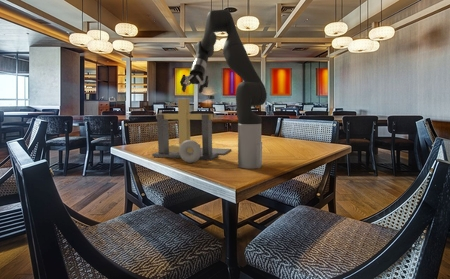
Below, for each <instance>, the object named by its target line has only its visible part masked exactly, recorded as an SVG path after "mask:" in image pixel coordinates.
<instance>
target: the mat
mask: <svg viewBox="0 0 450 279" xmlns="http://www.w3.org/2000/svg"><path fill="white" fill-rule="evenodd" d="M231 151H232V149H231V148H218V147H217V148H216V147H215V148H214V147H212V153H218V156H224V155H226V154H229V152H231ZM201 152H202V147H201Z"/></svg>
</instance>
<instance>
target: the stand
mask: <svg viewBox="0 0 450 279" xmlns="http://www.w3.org/2000/svg"><path fill="white" fill-rule="evenodd" d="M156 114H157V119H156V120H157V122H156V124H157V146H158V151H157V152H154V153H152V154H151V157H152V156H154V157H153V158H162V157H169V158H168V159H179V158H181V156H180V153H179V152H170V151H169V146H170V140H169V139H170V137H169V135H170V134H169V119H164V118H163V114H164V113H156ZM201 114H202V120H201V137H202V139H201V140H202V141H201V142H202V143H201V145H202V147H201V148H202V152H201V156H200V158H199V159H198V160H201V161H212V160H215V159H216V158H217V157H218V156H219V155H218V153H212V148H213V119H212V120H209V114H210V113H201ZM187 153H188V154H189V155H193V153H194V152H193V153H190V152H187ZM181 160H183V159H182V158H181ZM198 160H197V161H198Z"/></svg>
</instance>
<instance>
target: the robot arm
mask: <svg viewBox="0 0 450 279" xmlns="http://www.w3.org/2000/svg"><path fill="white" fill-rule="evenodd" d="M223 32H225V33H226V34H227V37H226V39H225V43H224V45H223V50H222V52H223V57H224V59H225V62H226V64H227V65H228V67H229V69H231V70H232V72H234V73H235V74H236V75H237V76H238V77H240V79H242V80H243V81H242V82H239V83H238V85H237V86H236V90H235V105H236V106H235V107H236V118H237V167H238V168H241V169H246V170H247V169H249V170H250V169H261V167H262V165H263V141H262V122H263V121H262V117H261V115H259V114H256V113H255V112H254V111H253V109H252V107H260V106H262V105H264V104H265V103H266V101H267V95H268V94H267V90H266V87H265V84H264V82H263V81H262V79H261V78H260V77H259V75H258V73H257V71H256V70H255V68H254V66H253V64H252V62H251V59H250V57H249V55H248V53H247V50H246V48H245V46H244V44H243V42H242V40H241V38H240V35H239V33H238V31H237V28H236V25H235V21H234V18H233V16H232V13H231V12H230V11H229V10H228V9H212V10H210V11H209V12H208V13H207V15H206V21H205V26H204V32H203V33H204V34H203V37H202V38H201V40H200V41H198V42H196V44H195V57H194V61H193V63H192V65H191V68H190V71H189V74H188V75H186V74H183V75H182V77H181V79H180V82H179V83H180V86H181V91H182V92H183V93H185V92H186V89H187V87H188V86H191V85H199V87H198V93H199V94H201V93H202V92H203V91H204V88H208V87H209V82H210V78H209V75H205V73H206V71H207V65H208V61H209V58H211V57H213V55H214V52H215V45H216V43H217V40H218V38H217V34H216V33H223ZM203 81H204V82H203Z"/></svg>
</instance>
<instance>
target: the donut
mask: <svg viewBox="0 0 450 279" xmlns="http://www.w3.org/2000/svg"><path fill="white" fill-rule="evenodd" d="M199 144H200V143H198V142H197V141H196V140H194V139H190V140H186V141H184V142H183V143H182V144H181V145H180V148H179V153H180V156H181V158H182V159H181V160H183V161H184V162H186V163H188V164H192V163H193V164H194V163H195V162H197V161H198V159H199V158H200V156H201V148H202V147H200V146H201V144H200V145H199ZM188 148H192V149H193V151H194V153H193V155H189V154H188V153H187V149H188Z"/></svg>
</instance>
